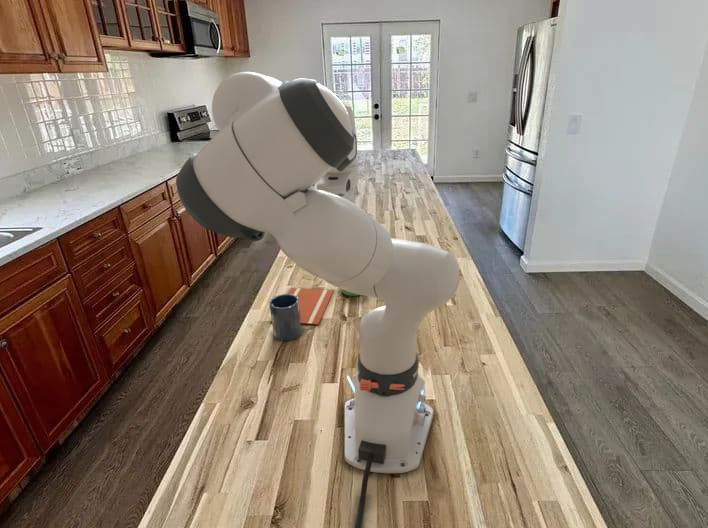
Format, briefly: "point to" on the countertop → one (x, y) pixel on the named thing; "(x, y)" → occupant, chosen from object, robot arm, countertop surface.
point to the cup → (285, 317)
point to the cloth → (311, 304)
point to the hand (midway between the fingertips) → (342, 233)
